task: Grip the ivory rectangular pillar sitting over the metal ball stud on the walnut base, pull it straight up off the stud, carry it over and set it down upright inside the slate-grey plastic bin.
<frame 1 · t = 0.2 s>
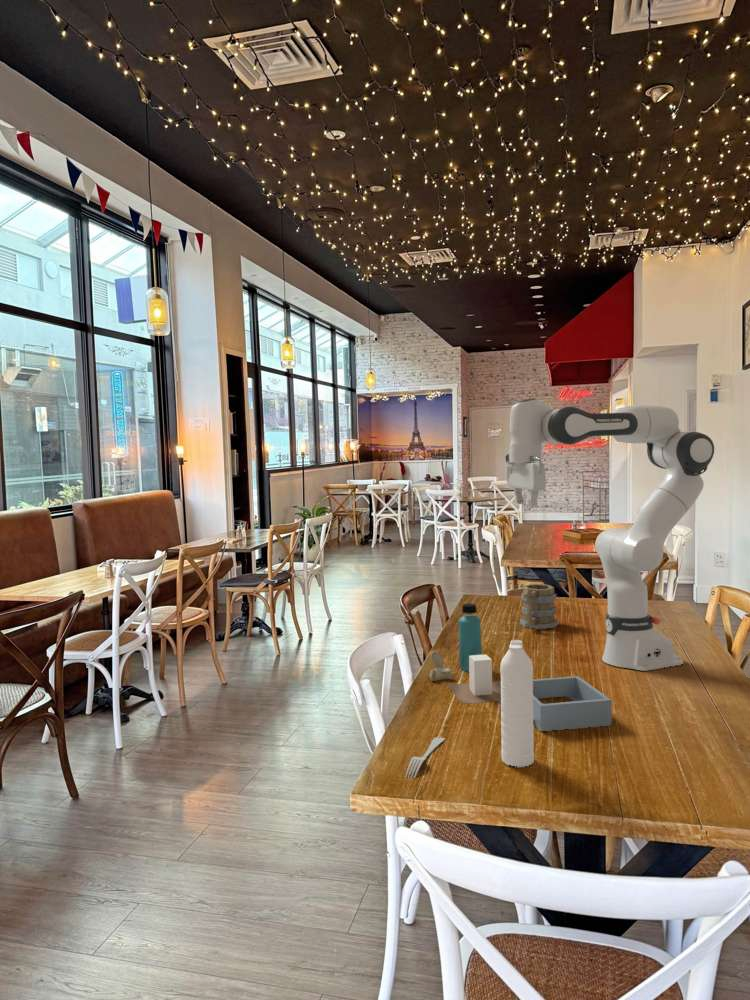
hand: (526, 505, 193), 48 cm above the table, tool pointing down, fingers open, 8 cm apart
bone: (441, 684, 187), on the table
water bottle: (517, 764, 138), on the table
beverage bottle: (470, 674, 194), on the table
slate bin: (560, 714, 162), on the table
ivory rectangular pillar: (480, 691, 175), point 1 cm above the table, touching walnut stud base
fork: (426, 759, 142), on the table
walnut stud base: (480, 697, 175), on the table
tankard: (535, 627, 243), on the table
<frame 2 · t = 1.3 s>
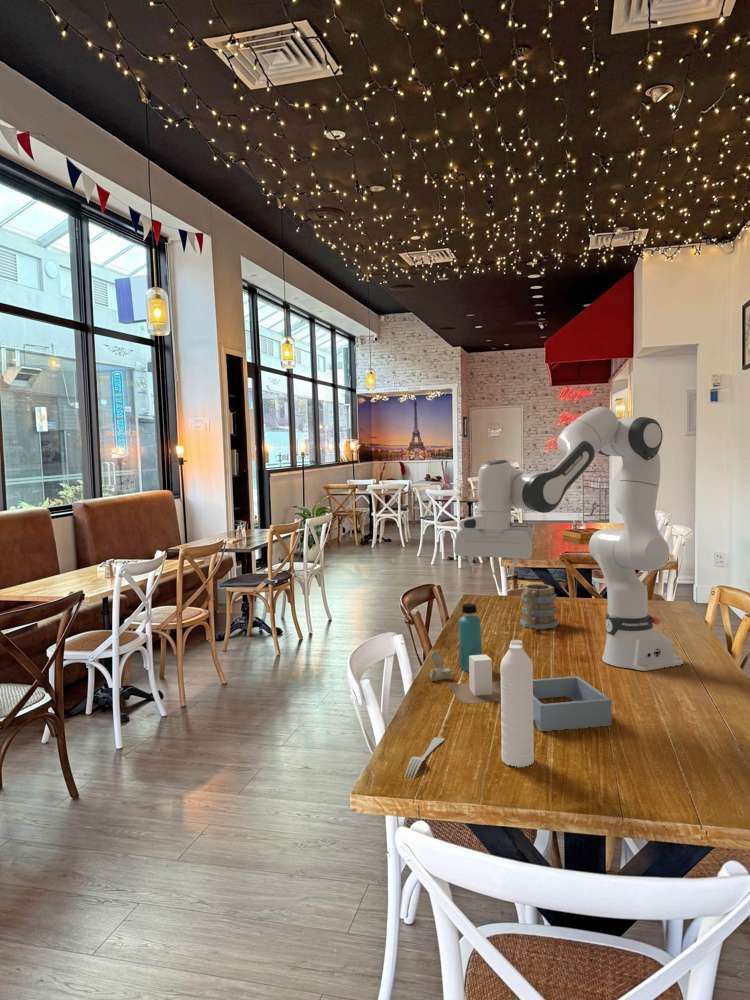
hand: (492, 574, 179), 31 cm above the table, tool pointing down, fingers open, 8 cm apart
nothing on the table moved.
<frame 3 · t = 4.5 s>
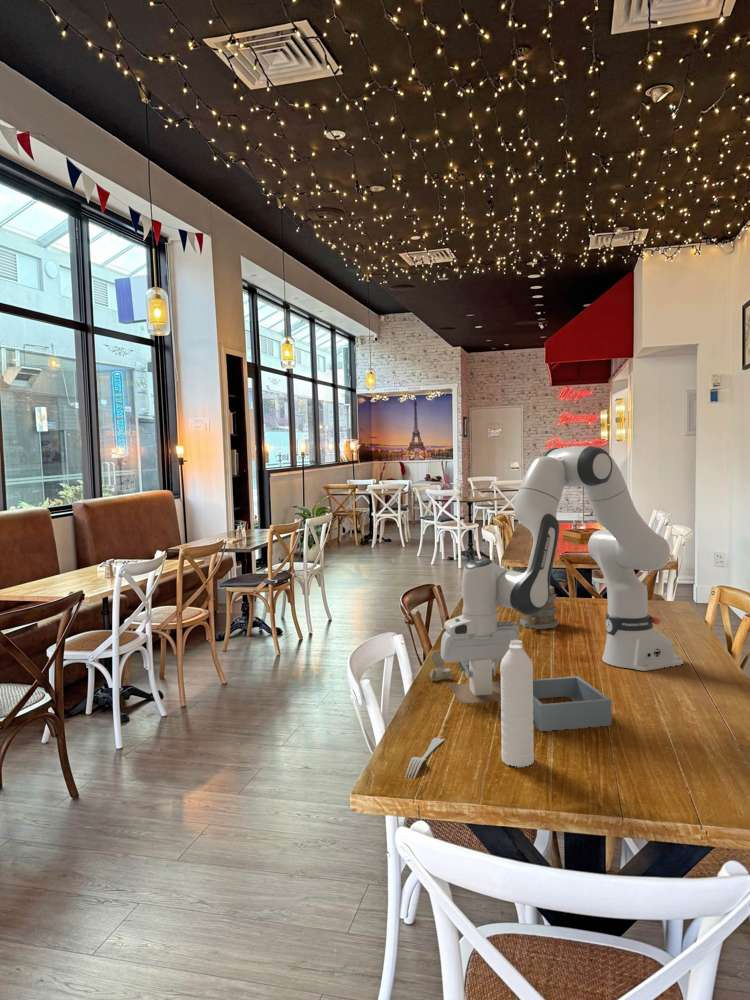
hand: (480, 676, 174), 6 cm above the table, tool pointing down, fingers closed on ivory rectangular pillar, 5 cm apart
ivory rectangular pillar: (480, 691, 175), point 2 cm above the table, touching gripper, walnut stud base
everything else where it was.
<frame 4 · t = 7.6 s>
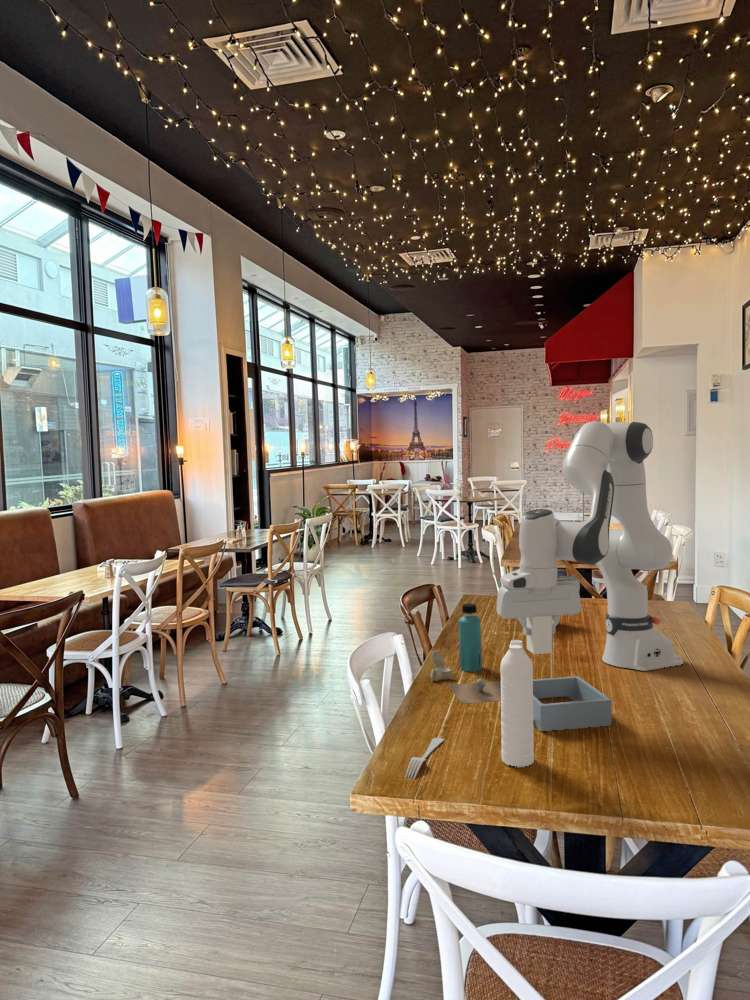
hand: (539, 634, 164), 19 cm above the table, tool pointing down, fingers closed on ivory rectangular pillar, 5 cm apart
ivory rectangular pillar: (539, 650, 165), point 15 cm above the table, touching gripper
everything else where it was.
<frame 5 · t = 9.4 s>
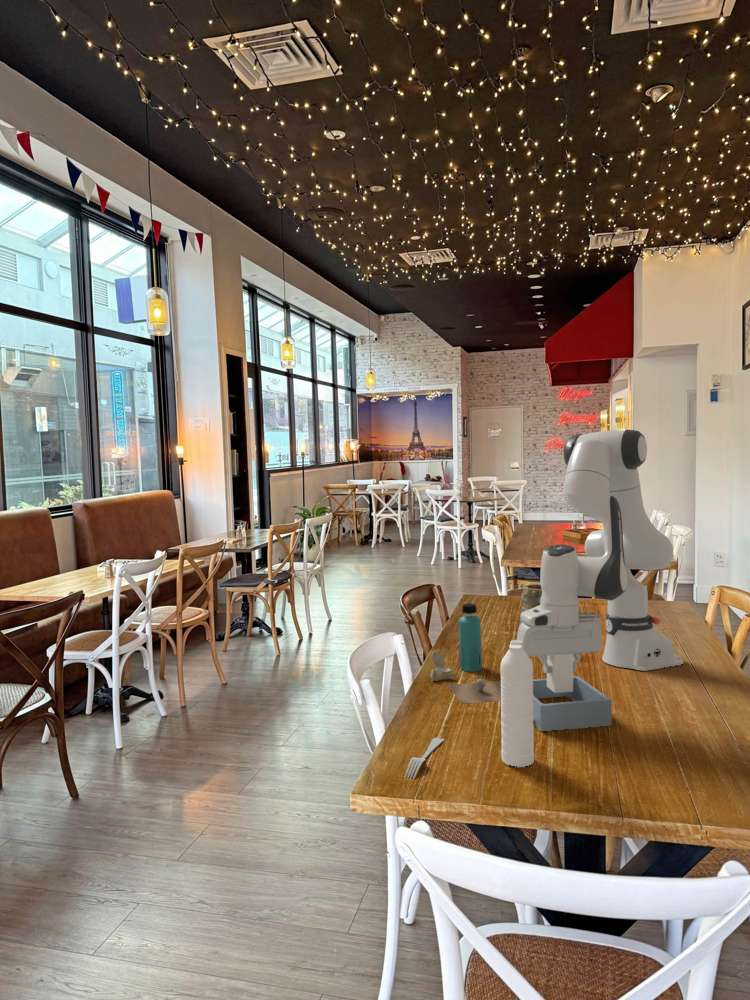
hand: (559, 671, 161), 10 cm above the table, tool pointing down, fingers closed on ivory rectangular pillar, 5 cm apart
ivory rectangular pillar: (559, 688, 162), point 6 cm above the table, touching gripper
everything else where it was.
when the fingers open (7 cm above the table, at t = 10.8 s): ivory rectangular pillar drops 1 cm, resting on slate bin.
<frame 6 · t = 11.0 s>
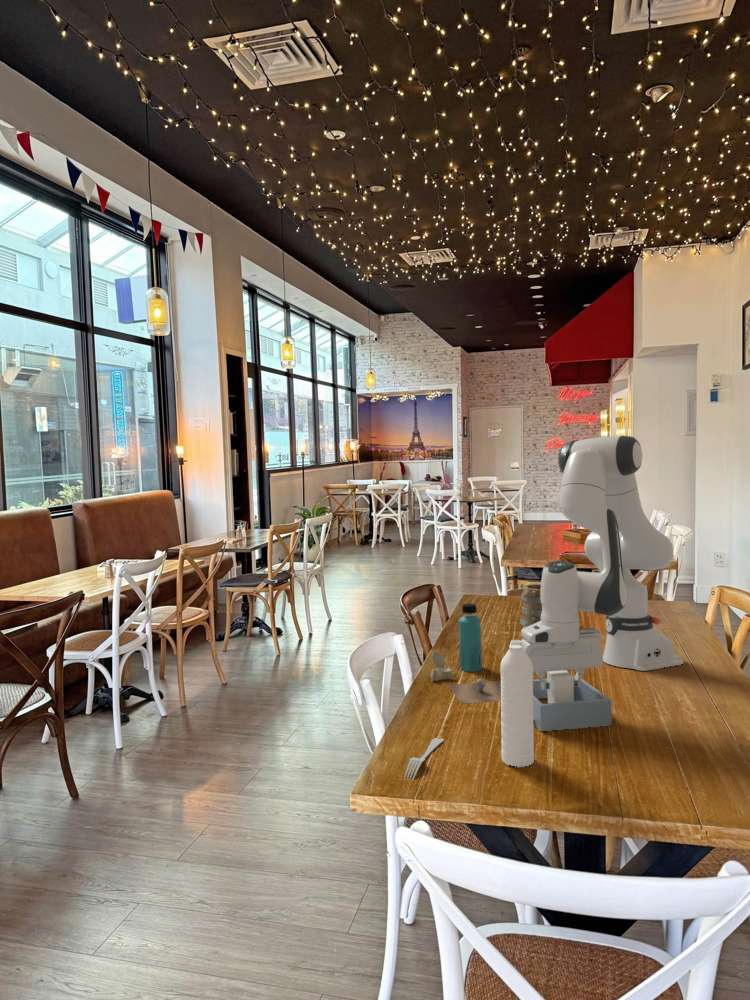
hand: (560, 687, 162), 7 cm above the table, tool pointing down, fingers open, 6 cm apart
ivory rectangular pillar: (560, 710, 162), point 1 cm above the table, touching slate bin
everything else where it was.
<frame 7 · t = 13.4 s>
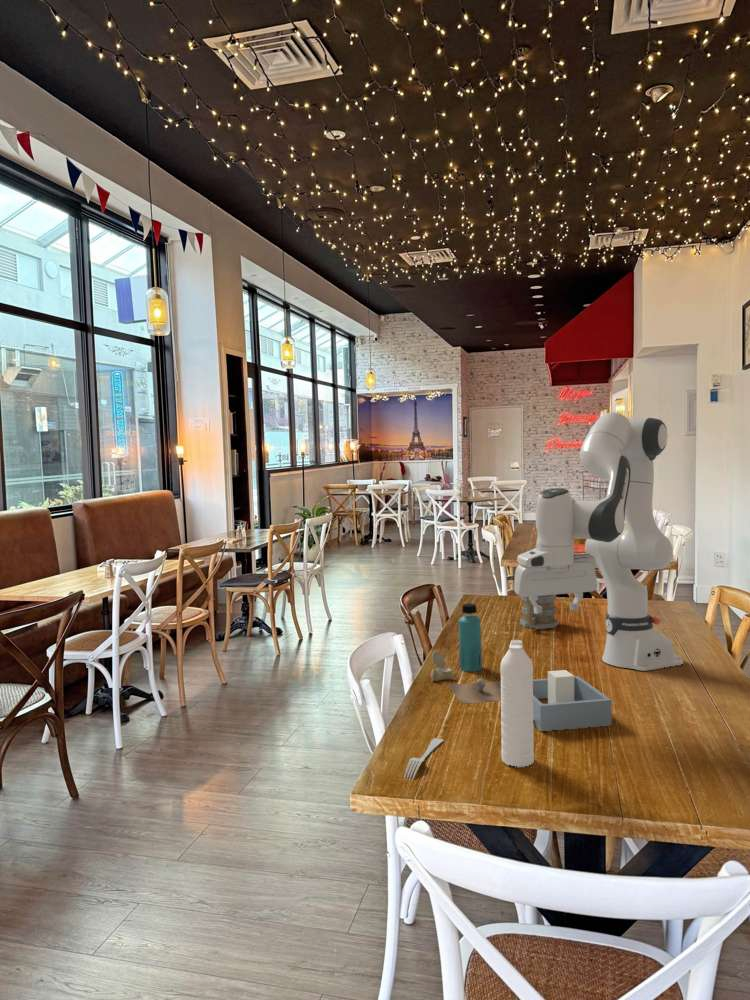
hand: (556, 611, 166), 24 cm above the table, tool pointing down, fingers open, 8 cm apart
nothing on the table moved.
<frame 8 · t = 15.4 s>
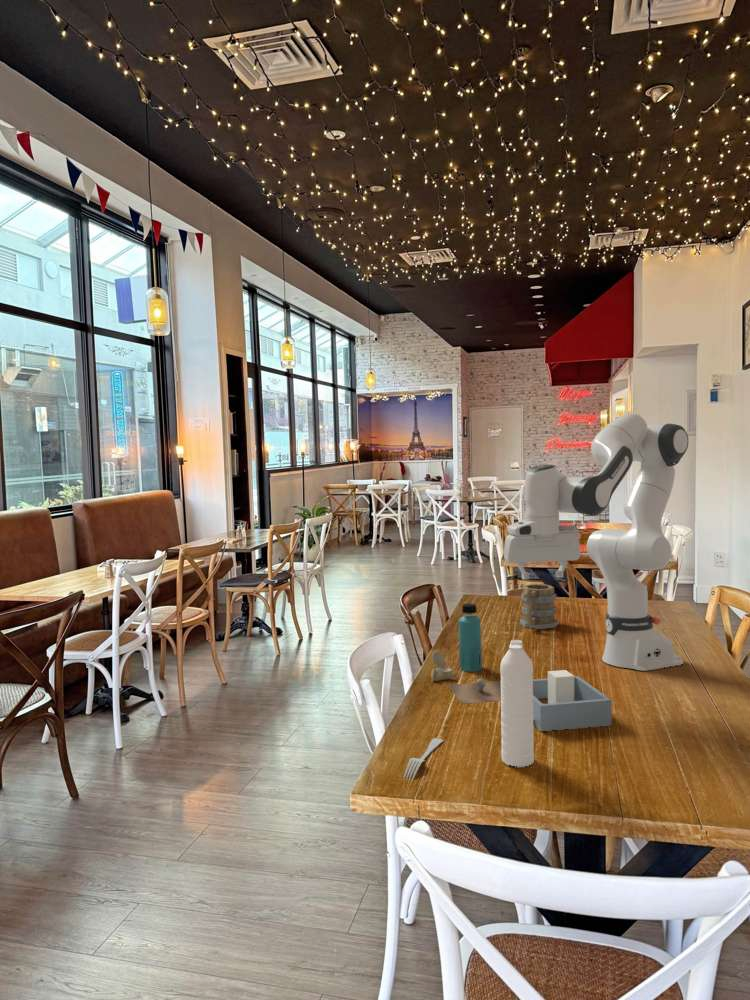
hand: (542, 578, 181), 29 cm above the table, tool pointing down, fingers open, 8 cm apart
nothing on the table moved.
at the end: ivory rectangular pillar inside the target area on the slate bin (0.1 cm from its centre), point 1.0 cm above the slate bin's base; ivory rectangular pillar tilted 0°; the gripper is holding nothing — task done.
